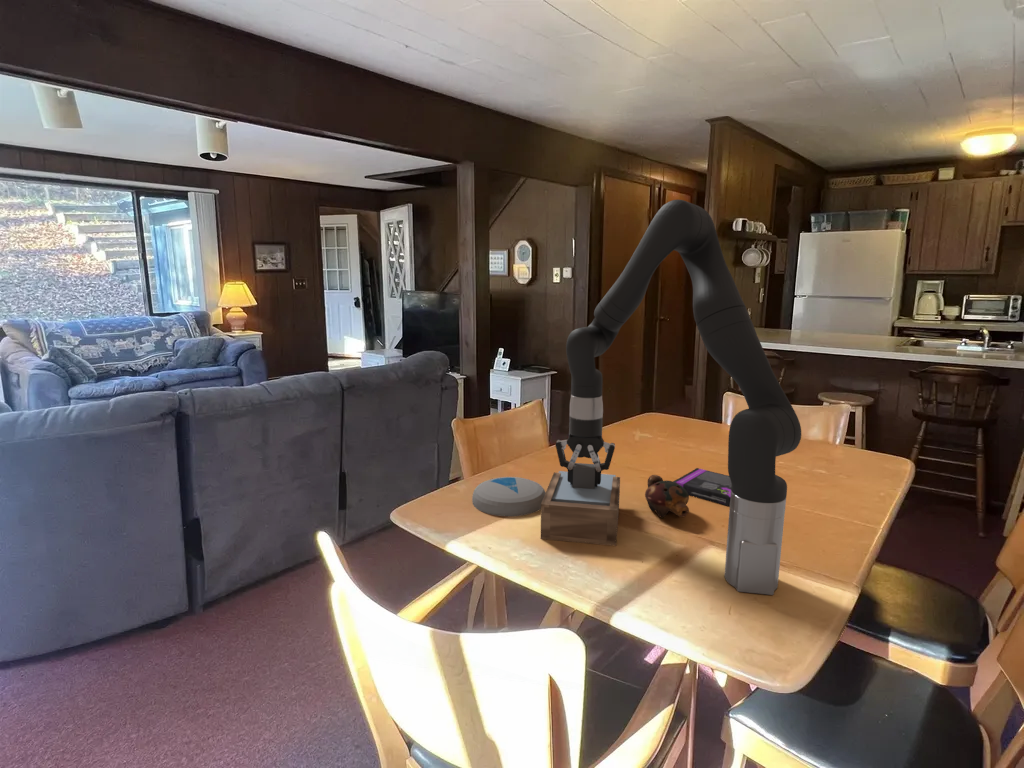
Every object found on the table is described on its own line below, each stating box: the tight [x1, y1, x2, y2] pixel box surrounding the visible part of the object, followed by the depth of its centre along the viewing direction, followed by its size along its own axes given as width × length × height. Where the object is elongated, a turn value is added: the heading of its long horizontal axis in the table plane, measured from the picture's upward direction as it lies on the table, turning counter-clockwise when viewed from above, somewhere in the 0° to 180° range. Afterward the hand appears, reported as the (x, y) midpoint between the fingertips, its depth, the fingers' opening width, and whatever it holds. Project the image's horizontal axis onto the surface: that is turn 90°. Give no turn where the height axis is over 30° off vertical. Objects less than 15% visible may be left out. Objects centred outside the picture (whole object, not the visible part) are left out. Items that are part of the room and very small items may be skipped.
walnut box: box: [540, 472, 621, 547], centre depth 133 cm, size 20×16×8 cm
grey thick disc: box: [471, 476, 546, 517], centre depth 146 cm, size 18×18×5 cm
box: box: [672, 467, 731, 508], centre depth 151 cm, size 14×4×20 cm
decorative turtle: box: [644, 474, 690, 518], centre depth 138 cm, size 10×15×8 cm, turn 21°
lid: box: [551, 462, 617, 506], centre depth 136 cm, size 18×14×6 cm
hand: (584, 484), depth 137 cm, fingers closed on lid, 5 cm apart
